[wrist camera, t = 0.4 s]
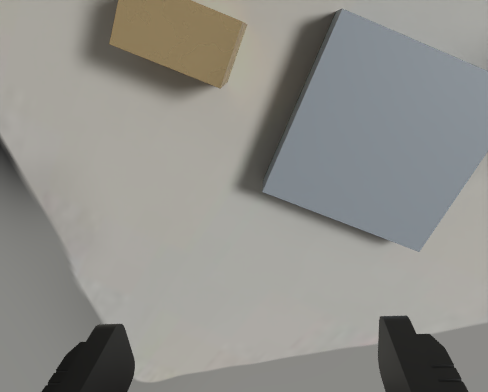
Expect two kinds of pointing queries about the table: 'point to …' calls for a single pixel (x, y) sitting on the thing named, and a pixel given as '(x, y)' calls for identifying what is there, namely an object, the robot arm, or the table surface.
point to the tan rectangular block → (179, 37)
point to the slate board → (382, 132)
